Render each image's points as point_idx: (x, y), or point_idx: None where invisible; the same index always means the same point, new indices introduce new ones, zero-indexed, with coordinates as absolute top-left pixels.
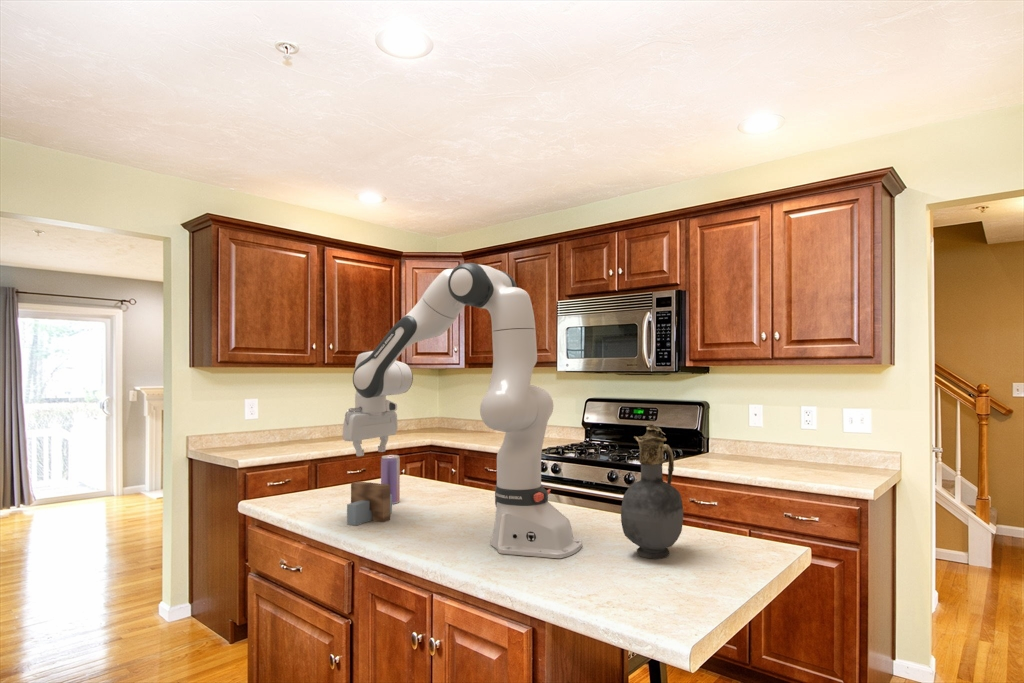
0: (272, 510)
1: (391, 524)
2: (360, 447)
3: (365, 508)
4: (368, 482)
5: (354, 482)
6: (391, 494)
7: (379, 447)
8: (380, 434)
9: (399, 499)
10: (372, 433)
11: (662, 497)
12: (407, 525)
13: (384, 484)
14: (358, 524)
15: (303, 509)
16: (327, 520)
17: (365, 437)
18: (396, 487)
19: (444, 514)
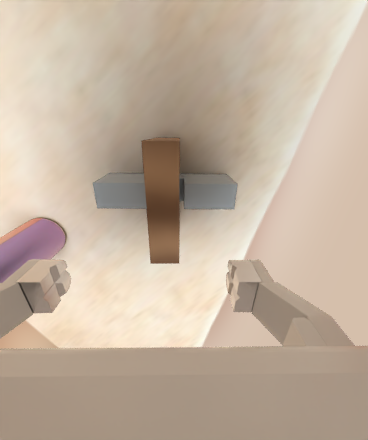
0: (196, 340)
1: (186, 105)
2: (288, 295)
3: (198, 180)
4: (148, 229)
5: (167, 261)
6: (94, 183)
7: (54, 294)
8: (1, 378)
9: (28, 221)
10: (171, 417)
11: None
12: (177, 55)
13: (148, 162)
14: (216, 174)
15: (171, 316)
16: (212, 244)
17: (308, 364)
18: (19, 233)
19: (32, 23)
